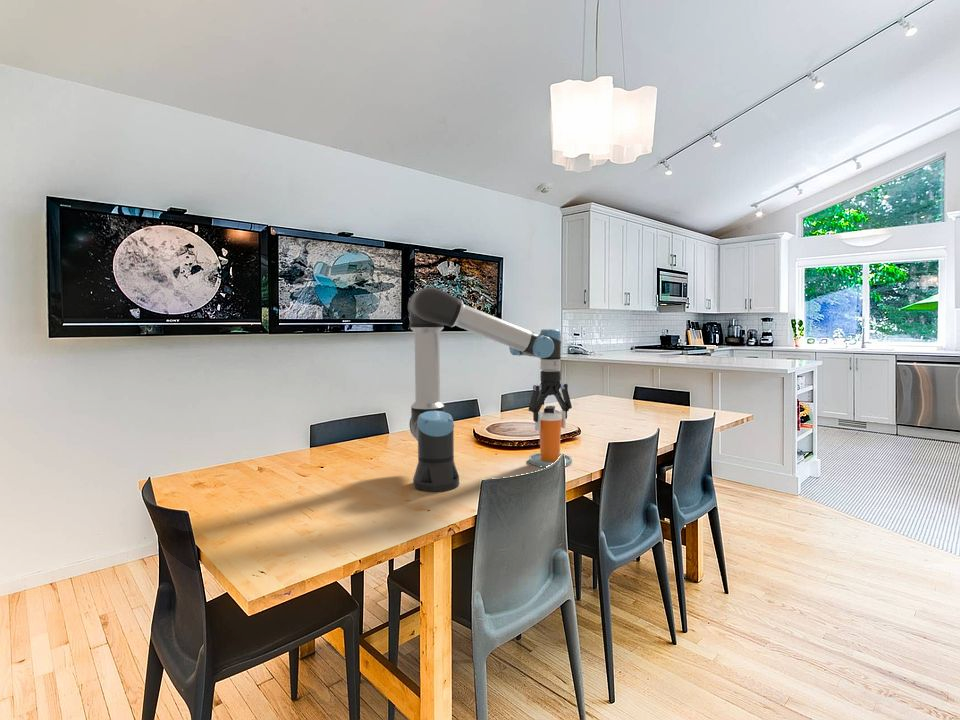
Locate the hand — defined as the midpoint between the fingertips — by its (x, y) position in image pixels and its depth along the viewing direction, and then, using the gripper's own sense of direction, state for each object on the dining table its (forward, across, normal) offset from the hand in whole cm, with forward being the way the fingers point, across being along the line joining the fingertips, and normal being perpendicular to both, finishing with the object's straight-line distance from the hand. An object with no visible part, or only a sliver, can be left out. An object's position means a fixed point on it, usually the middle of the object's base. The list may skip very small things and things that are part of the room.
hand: (550, 428), depth 193 cm
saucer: (+13, 0, 0) cm, 13 cm away
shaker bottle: (+12, 0, 0) cm, 12 cm away
